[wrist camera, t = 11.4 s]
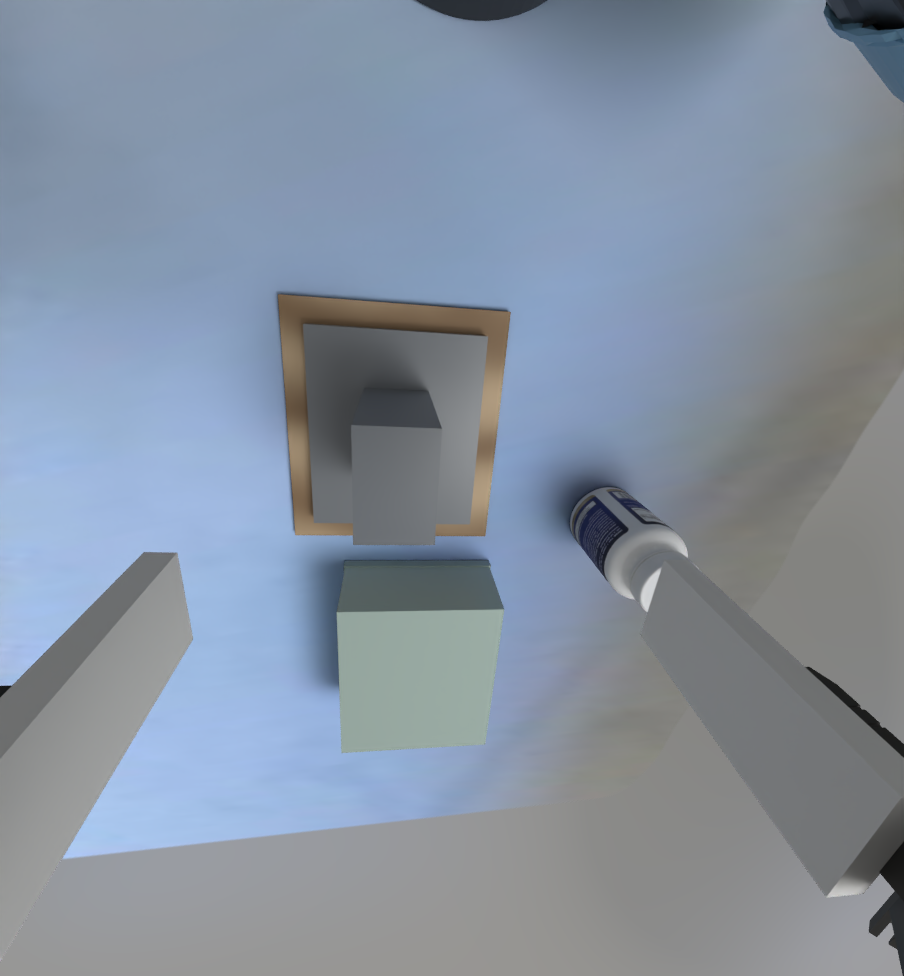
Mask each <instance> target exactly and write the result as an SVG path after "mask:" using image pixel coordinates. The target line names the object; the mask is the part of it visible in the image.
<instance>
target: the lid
mask: <svg viewBox="0 0 904 976" xmlns="http://www.w3.org/2000/svg"><path fill="white" fill-rule="evenodd" d="M303 334H304V352H305V370H306V389H307V407H308V425H309V444H310V462H311V480H312V499H313V517H314V523H353V545H435V532H436V524H470V518H471V508H472V498H473V487H474V477H475V467H476V457H477V446H478V436H479V426H480V415H481V405H482V395H483V384H484V374H485V364H486V354H487V343H488V336H485V335H472V334H457V333H443V332H428V331H413V330H398V329H384V328H369V327H354V326H340V325H325V324H310V323H305V324H303Z"/></svg>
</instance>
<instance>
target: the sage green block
mask: <svg viewBox="0 0 904 976" xmlns="http://www.w3.org/2000/svg"><path fill="white" fill-rule="evenodd" d="M490 567H491V565H490V563H489V560H345V562H344V576H343V581H342V587H341V592H340V597H339V603H338V608H337V636H338V664H339V692H340V720H341V749H342V753H348V752H365V751H382V750H399V749H416V748H432V747H449V746H466V745H483V744H485V741H486V734H487V727H488V720H489V713H490V706H491V699H492V692H493V685H494V678H495V671H496V663H497V656H498V649H499V642H500V635H501V628H502V621H503V614H504V607H503V605H502V602H501V599H500V596H499V593H498V590H497V588H496V585H495V582H494V579H493V576H492V573H491V570H490Z"/></svg>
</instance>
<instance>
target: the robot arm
mask: <svg viewBox="0 0 904 976" xmlns="http://www.w3.org/2000/svg"><path fill="white" fill-rule="evenodd" d="M417 1H419V2H420V3H422V4H424V5H426V6H428V7H430V8H432V9H434V10H436V11H438V12H441V13H443V14H446V15H450V16H453V17H457V18H462V19H467V20H476V21H489V20H499V19H504V18H509V17H512V16H516V15H519V14H522V13H524V12H527V11H529V10H531V9H533V8H535V7H537V6H539V5H541V4H542V3H544V2H545V1H547V0H417ZM823 13H824V15H825V17H826V20H827V22H828V25H829V26H830V28H831V29H832V30H833V31H834V32H835V33H836V34H837V35H838V36H839V37H840V38H844V39H847V40H849V41H851V42H854V44H855V45H856V46H857V48H858V49H859V50H860V52H861V53H862V54H863V56H864V57H865V58H866V60H867V61H868V62H869V64H870V65H871V66H872V67H873V69H874V70H875V71H876V73H877V74H878V75H879V77H880V78H881V79H882V81H883V82H884V83H885V85H886V86H887V87H888V89H889V90H890V91H891V92H892V93H893V95H894V96H896V97H897V98H898V99H900V100H901V101H902V102H904V0H826V6H825V9H824V12H823ZM640 635H641V636H642V638H643V639H644V641H645V642H646V643H647V645H648V646H649V648H650V649H651V651H652V652H653V653H654V655H655V656H656V658H657V659H658V660H659V662H660V663H661V665H662V666H663V667H664V669H665V670H666V672H667V673H668V675H669V676H670V677H671V679H672V680H673V682H674V683H675V684H676V686H677V687H678V689H679V690H680V692H681V693H682V694H683V696H684V697H685V699H686V700H687V701H688V703H689V704H690V706H691V707H692V708H693V710H694V711H695V713H696V714H697V716H698V717H699V718H700V720H701V721H702V723H703V724H704V725H705V727H706V728H707V730H708V731H709V733H710V734H711V735H712V736H713V738H714V740H715V741H716V742H717V744H718V745H719V746H720V748H721V749H722V751H723V752H724V754H725V755H726V757H727V758H728V759H729V760H730V762H731V764H732V765H733V766H734V768H735V769H736V771H737V772H738V774H739V775H740V776H741V778H742V779H743V781H744V782H745V783H746V785H747V786H748V787H749V789H750V790H751V792H752V793H753V794H754V796H755V798H756V799H757V800H758V802H759V803H760V805H761V806H762V807H763V809H764V810H765V812H766V813H767V815H768V816H769V817H770V819H771V820H772V822H773V823H774V824H775V826H776V827H777V829H778V830H779V831H780V833H781V834H782V836H783V837H784V838H785V840H786V841H787V843H788V844H789V845H790V847H791V848H792V850H793V851H794V852H795V854H796V856H797V857H798V858H799V860H800V861H801V863H802V864H803V865H804V867H805V868H806V870H807V871H808V873H809V874H810V875H811V877H812V878H813V880H814V881H815V882H816V884H817V885H818V887H819V888H820V890H821V891H822V892H823V894H824V895H825V896H826V897H835V896H846V895H855V894H864V892H865V891H866V890H867V889H868V888H869V886H870V885H871V884H872V883H873V881H874V880H875V879H876V878H877V876H878V875H879V874H881V875H882V876H883V877H884V878H885V880H886V881H887V882H888V883H889V884H890V885H891V887H892V888H893V889H894V890H895V892H894V893H893V894H892V895H891V896H890V897H889V899H888V900H887V901H886V902H885V903H884V904H883V906H882V907H881V908H880V909H879V910H878V912H877V913H876V914H875V915H874V916H873V917H872V919H871V920H870V925H869V932H870V933H871V934H873V935H874V936H876V937H877V936H878V935H879V934H880V933H881V932H882V931H883V930H884V929H885V927H886V926H887V925H888V924H889V923H892V925H893V930H894V935H893V937H892V938H891V939H890V941H889V945H891V946H893V947H894V948H896V949H897V950H898V954H899V959H900V964H901V969H902V973H903V976H904V744H903V743H902V742H901V741H900V740H898V739H897V738H896V737H895V736H894V735H893V734H892V733H891V732H889V731H888V730H887V729H886V728H882V727H881V726H880V723H879V722H878V721H877V720H876V719H875V718H874V717H873V716H872V715H870V714H869V713H868V712H867V711H866V710H862V709H861V708H860V705H859V704H858V703H857V702H856V701H855V700H853V698H851V697H850V696H849V695H848V694H847V693H846V692H844V690H842V689H841V688H840V687H839V686H838V685H837V684H835V683H834V682H832V681H831V680H829V679H827V678H826V677H824V676H822V675H821V674H820V673H818V672H816V671H815V670H813V669H812V668H810V667H804V666H803V665H802V664H801V663H800V662H799V661H798V660H797V659H796V658H794V657H793V656H792V655H791V654H790V653H789V652H788V651H787V650H786V649H785V648H784V647H782V645H780V644H779V643H778V642H777V641H776V640H775V639H774V638H773V637H772V636H771V635H770V634H768V633H767V632H766V631H765V630H764V629H763V628H762V627H761V626H760V625H759V624H758V623H756V622H755V621H754V620H753V619H752V618H751V617H750V616H749V615H748V614H747V613H746V612H745V611H743V610H742V609H741V608H740V607H739V606H738V605H737V604H736V603H735V602H734V601H733V600H732V599H730V598H729V597H728V596H727V595H726V594H725V593H724V592H723V591H722V590H721V589H720V588H718V587H717V586H716V585H715V584H714V583H713V582H712V581H711V580H710V579H709V578H708V577H707V576H705V575H704V574H703V573H702V572H701V571H700V570H699V569H698V568H697V567H696V566H695V565H693V564H692V563H691V562H690V561H689V560H664V562H663V565H662V568H661V571H660V575H659V578H658V581H657V584H656V587H655V590H654V593H653V596H652V600H651V603H650V606H649V609H648V612H647V615H646V618H645V621H644V625H643V628H642V631H641V634H640ZM192 640H193V636H192V630H191V625H190V620H189V614H188V609H187V603H186V598H185V592H184V587H183V582H182V576H181V571H180V565H179V560H178V554H177V553H162V552H144V553H143V554H142V555H141V556H140V557H139V558H138V559H137V560H136V561H135V562H134V563H133V564H132V565H131V566H130V567H129V568H128V569H127V570H126V571H125V572H124V573H123V574H122V575H121V576H120V577H119V578H118V579H117V580H116V581H115V582H114V583H113V584H112V585H111V586H110V587H109V588H108V589H107V590H106V591H105V592H104V593H103V594H102V595H101V596H100V597H99V598H98V599H97V600H96V601H95V602H94V603H93V604H92V605H91V606H90V607H89V608H88V609H87V610H86V611H85V612H84V613H83V614H82V615H81V616H80V617H79V618H78V620H77V621H76V622H75V623H74V624H73V625H72V626H71V627H70V628H69V629H68V630H67V631H66V632H65V633H64V634H63V635H62V636H61V637H60V638H59V639H58V640H57V641H56V642H55V643H54V644H53V645H52V646H51V647H50V648H49V649H48V650H47V651H46V652H45V653H44V654H43V655H42V656H41V657H40V658H39V659H38V660H37V661H36V662H35V663H34V664H33V665H32V666H31V667H30V668H29V669H28V670H27V671H26V672H25V673H24V674H23V675H22V676H21V677H20V678H19V679H18V680H17V681H16V682H15V683H14V684H13V685H12V686H0V962H1V960H2V958H3V957H4V955H5V953H6V952H7V950H8V948H9V946H10V945H11V943H12V942H13V940H14V938H15V937H16V935H17V933H18V932H19V930H20V928H21V926H22V925H23V923H24V921H25V920H26V918H27V916H28V915H29V913H30V911H31V910H32V908H33V906H34V905H35V903H36V901H37V900H38V898H39V896H40V895H41V893H42V891H43V890H44V888H45V886H46V885H47V883H48V881H49V880H50V878H51V876H52V875H53V873H54V871H55V870H56V868H57V866H58V865H59V863H60V861H61V860H62V858H63V856H64V855H65V853H66V851H67V850H68V848H69V846H70V845H71V843H72V841H73V840H74V838H75V836H76V834H77V833H78V831H79V829H80V828H81V826H82V824H83V823H84V821H85V819H86V818H87V816H88V814H89V813H90V811H91V809H92V808H93V806H94V804H95V803H96V801H97V799H98V798H99V796H100V794H101V793H102V791H103V789H104V788H105V786H106V784H107V783H108V781H109V779H110V778H111V776H112V774H113V772H114V771H115V769H116V767H117V766H118V764H119V762H120V761H121V759H122V757H123V756H124V754H125V752H126V751H127V749H128V747H129V746H130V744H131V742H132V741H133V739H134V737H135V736H136V734H137V732H138V731H139V729H140V727H141V726H142V724H143V722H144V721H145V719H146V717H147V716H148V714H149V712H150V710H151V709H152V707H153V705H154V704H155V702H156V700H157V699H158V697H159V695H160V694H161V692H162V690H163V689H164V687H165V685H166V684H167V682H168V680H169V679H170V677H171V675H172V674H173V672H174V670H175V669H176V667H177V665H178V664H179V662H180V660H181V659H182V657H183V655H184V654H185V652H186V650H187V649H188V647H189V645H190V643H191V642H192Z"/></svg>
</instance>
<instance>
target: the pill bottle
mask: <svg viewBox="0 0 904 976" xmlns="http://www.w3.org/2000/svg"><path fill="white" fill-rule="evenodd" d="M570 527H571V532H572V534H573V536H574V538H575V539H576V541H577V542H578V544H579V545H580V546H581V547H582V549H583V550H584V551H585V553H586V554H587V555H588V556H589V558H590V559H591V560H592V562H593V563H594V564H595V566H596V567H597V568H598V569H599V571H600V572H601V573H602V575H603V576H604V577H605V579H606V580H607V581H608V582H609V584H610V585H611V586H612V587H613V588H614V590H615V591H617V592H618V593H619V594H621V595H622V596H625V597H627V598H630V599H635V600H636V601H637V602H638V603H639V604H640V606H641V607H642V608H643V609H644V610H645V611H646V612H648V609H649V606H650V603H651V600H652V596H653V593H654V590H655V587H656V584H657V581H658V578H659V575H660V571H661V568H662V565H663V562H664V560H689V559H688V554H687V549H686V546H685V544H684V542H683V540H682V539H681V538H680V536H679V535H678V534H677V533H675V532H674V531H673V530H672V529H671V528H670V527H669V526H667V525H666V524H665V523H664V522H662V521H661V520H660V519H659V518H658V517H656V516H655V515H654V514H653V513H652V512H650V511H649V510H648V509H647V508H645V507H644V506H643V505H642V504H641V503H639V502H638V501H637V500H636V499H634V498H633V497H632V496H631V495H629V494H628V493H626V492H625V491H623V490H621V489H618V488H613V487H605V488H600V489H596V490H594V491H592V492H590V493H588V494H587V495H586V496H584V497H583V498H582V499H581V500H580V501H579V502H578V503H577V505H576V506H575V508H574V509H573V512H572V514H571V519H570ZM689 561H690V560H689ZM690 562H691V563H692V564H693V565H695V564H694V563H693V562H692V561H690ZM695 566H696V565H695ZM696 567H697V566H696ZM697 568H698V567H697ZM698 569H699V568H698ZM699 570H700V569H699Z"/></svg>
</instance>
